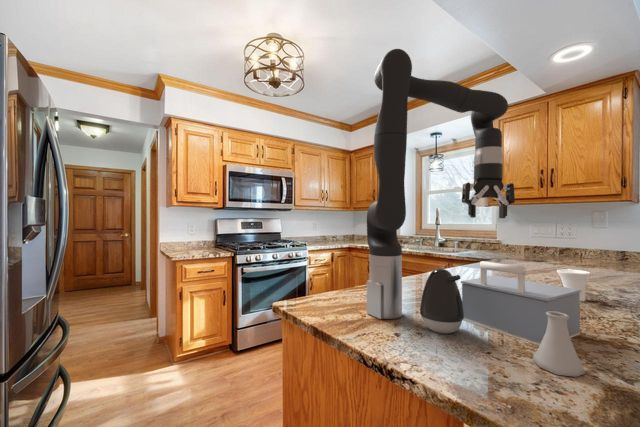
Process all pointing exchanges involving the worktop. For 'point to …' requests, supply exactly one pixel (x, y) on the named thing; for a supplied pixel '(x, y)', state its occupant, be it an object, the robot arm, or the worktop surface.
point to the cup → (574, 280)
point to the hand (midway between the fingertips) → (487, 217)
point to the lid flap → (517, 283)
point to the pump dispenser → (441, 302)
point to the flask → (558, 348)
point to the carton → (517, 312)
